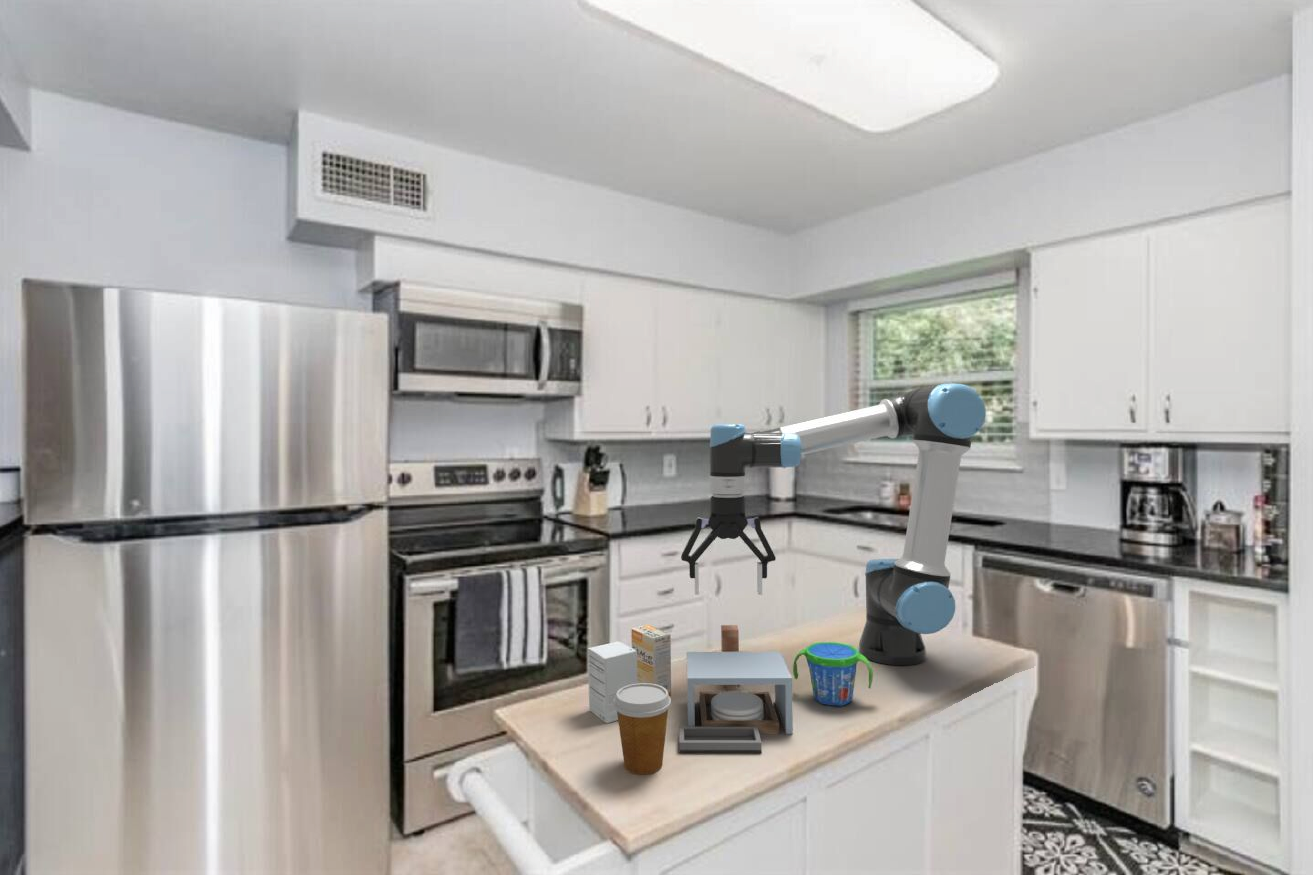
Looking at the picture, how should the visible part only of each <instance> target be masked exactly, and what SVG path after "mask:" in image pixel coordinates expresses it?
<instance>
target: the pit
mask: <svg viewBox="0 0 1313 875" xmlns="http://www.w3.org/2000/svg"><path fill="white" fill-rule="evenodd" d="M678 736H679V753H680V754H762V752H763V751H762V749H763V748H762V740H761V734H759V731H758V727H701V726H695V727H688V726H679V735H678Z"/></svg>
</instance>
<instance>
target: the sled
mask: <svg viewBox="0 0 1313 875" xmlns="http://www.w3.org/2000/svg"><path fill="white" fill-rule="evenodd" d="M720 627H721V628H720V630H721V631H720V635H721V636H720V640H721V641H720V644H721V646H720V647H721V648H720V649H721V651H720V652H740V649H739V648H740V644H739V642H740V641H739V638H740V637H739V627H738V625H737V624H736V625H735V624H722V625H721V626H720ZM738 686H740V685H722V687H726V692H727V691H739V690H738ZM722 692H723V691H699V695H698V696H699V699H698V700H699V713H700V714H699V715H700V727H758V731H759V735H779V734H780V721H779V719H778V718H779V717H778V716H777V713H776V710H775V705H774V704H773V701H772V697H771V695H770V692H769V691H748V692H749V693H752V694H754V695H756V696H758V697H759V698H760V699H761V700H762V701H763V705H764V706H765V709H766V714H767V715H768V716H767V717H768V720H762V721H713V720H708V719H707V718H708V717H707V707H706V705H711V700H712V698H713V697H714V696H715V695H717V694H719V693H722Z"/></svg>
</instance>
